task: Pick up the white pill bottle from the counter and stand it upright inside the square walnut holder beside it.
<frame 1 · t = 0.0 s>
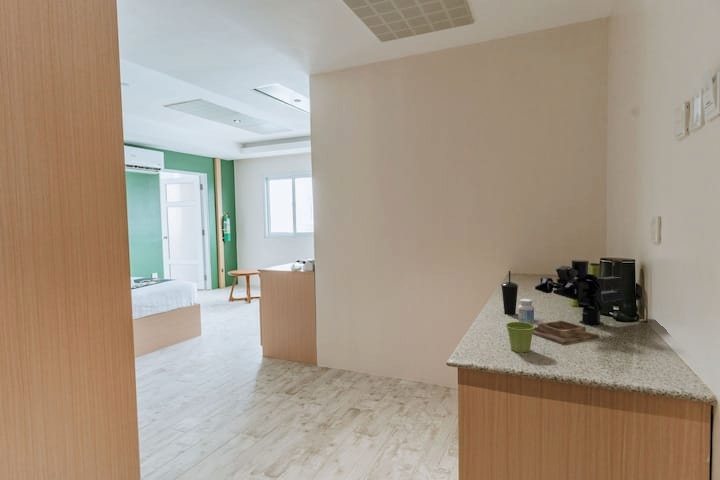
hand: (544, 289, 163), 17 cm above the table, tool horizontal, fingers open, 9 cm apart
pill bottle: (526, 327, 171), on the table
drinking cup: (509, 314, 192), on the table
plant pot: (520, 350, 143), on the table
holder: (561, 334, 159), on the table
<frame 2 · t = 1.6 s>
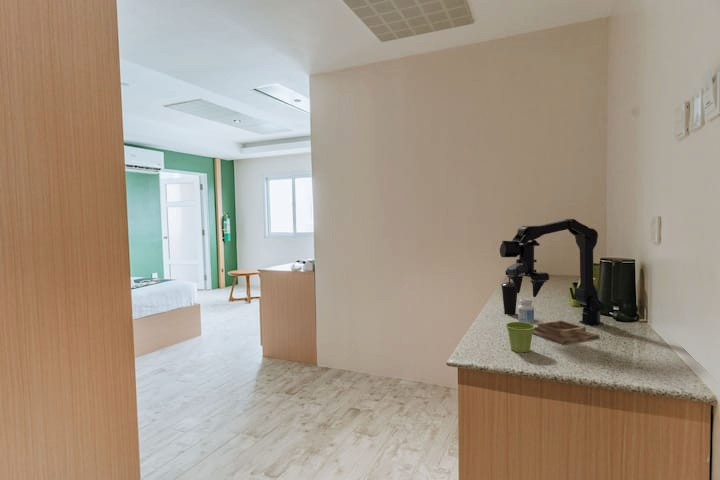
hand: (526, 294, 170), 13 cm above the table, tool pointing down, fingers open, 9 cm apart
nothing on the table moved.
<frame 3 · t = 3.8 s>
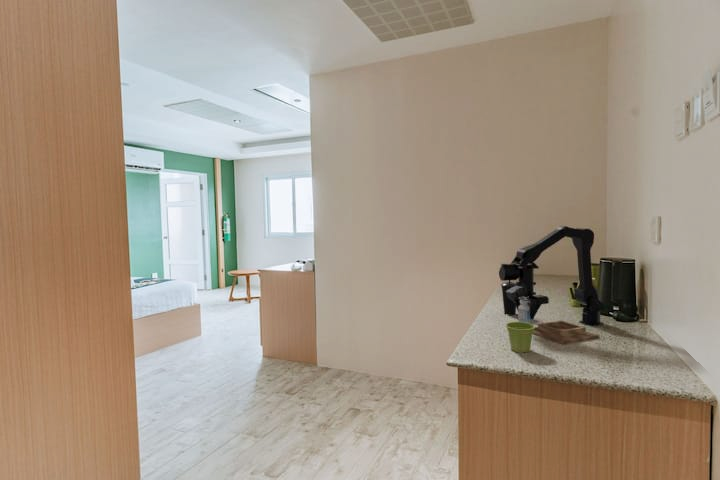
hand: (526, 317, 170), 4 cm above the table, tool pointing down, fingers closed on pill bottle, 6 cm apart
pill bottle: (526, 327, 171), on the table, touching gripper
everything else where it was.
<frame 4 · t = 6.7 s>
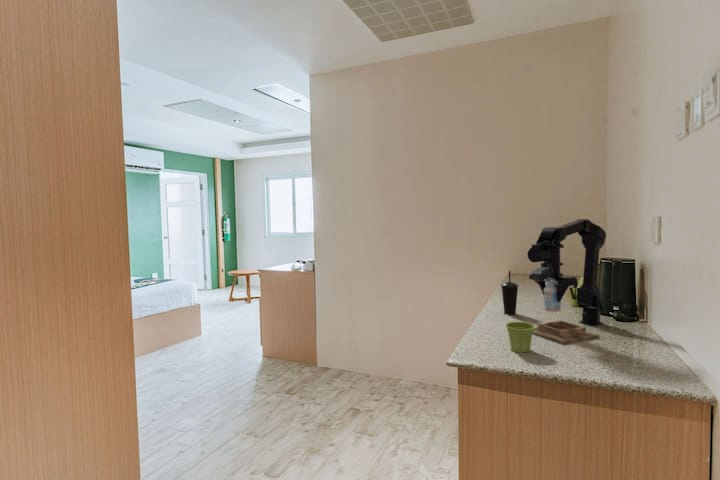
hand: (552, 300, 161), 13 cm above the table, tool pointing down, fingers closed on pill bottle, 6 cm apart
pill bottle: (552, 310, 161), point 9 cm above the table, touching gripper
everything else where it was.
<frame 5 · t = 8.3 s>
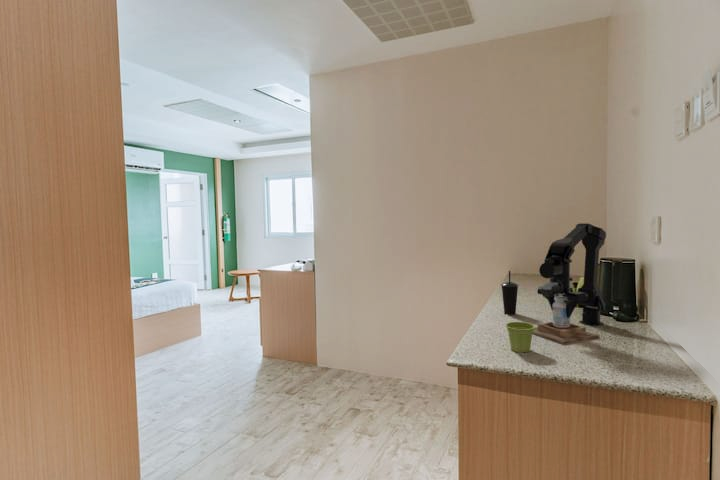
hand: (561, 315, 159), 7 cm above the table, tool pointing down, fingers closed on pill bottle, 6 cm apart
pill bottle: (561, 326, 159), point 3 cm above the table, touching gripper
everything else where it was.
when the fingers open (6 cm above the table, at t = 9.4 s): pill bottle drops 1 cm, resting on holder.
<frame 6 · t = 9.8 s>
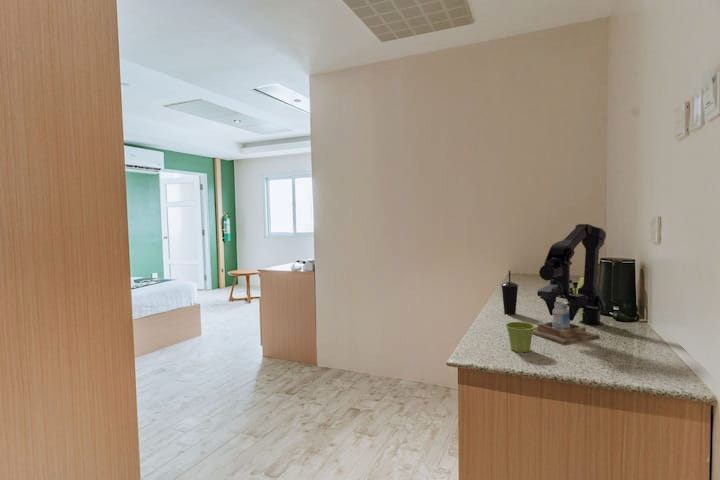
hand: (561, 317, 159), 6 cm above the table, tool pointing down, fingers open, 9 cm apart
pill bottle: (561, 332, 159), point 1 cm above the table, touching holder
everything else where it was.
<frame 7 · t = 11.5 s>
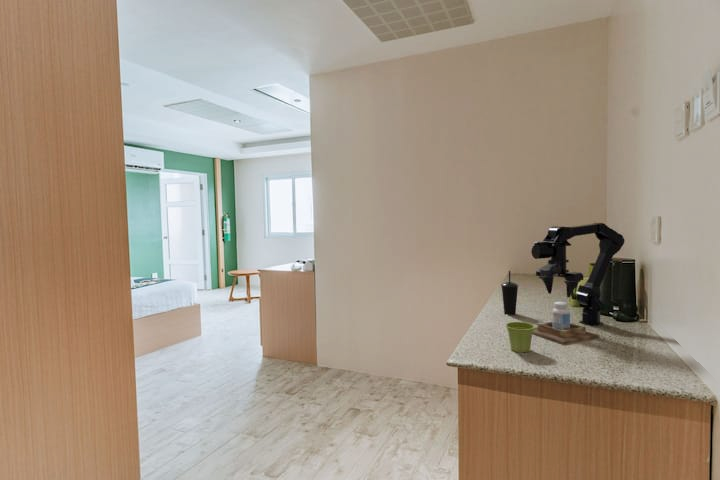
hand: (558, 295, 169), 13 cm above the table, tool pointing down, fingers open, 9 cm apart
nothing on the table moved.
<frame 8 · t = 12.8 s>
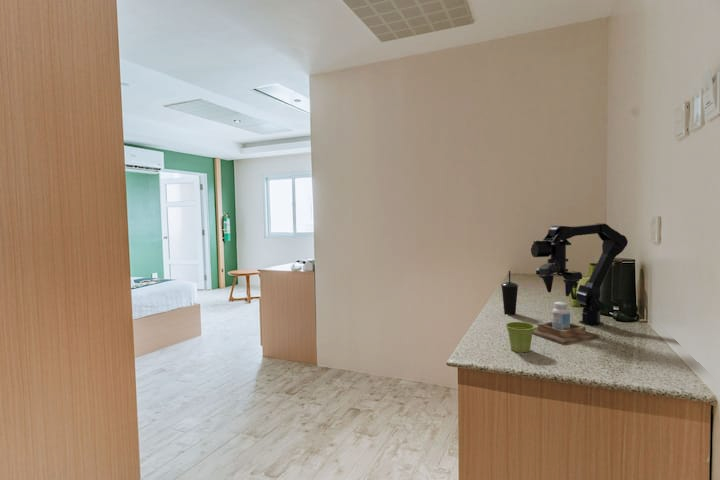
hand: (558, 294, 171), 13 cm above the table, tool pointing down, fingers open, 9 cm apart
nothing on the table moved.
at the end: pill bottle 0.1 cm off-centre on the holder, point 0.8 cm above the holder's base; pill bottle tilted 0°; the gripper is holding nothing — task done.
